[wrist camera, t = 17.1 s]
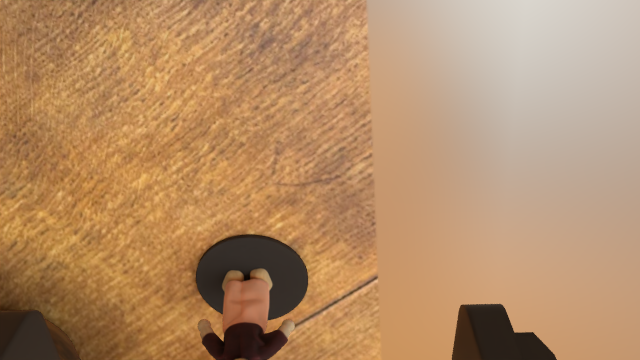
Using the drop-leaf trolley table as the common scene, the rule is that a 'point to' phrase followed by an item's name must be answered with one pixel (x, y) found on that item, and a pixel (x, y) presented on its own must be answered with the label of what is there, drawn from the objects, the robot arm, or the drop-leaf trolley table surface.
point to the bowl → (61, 342)
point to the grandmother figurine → (245, 320)
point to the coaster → (246, 257)
